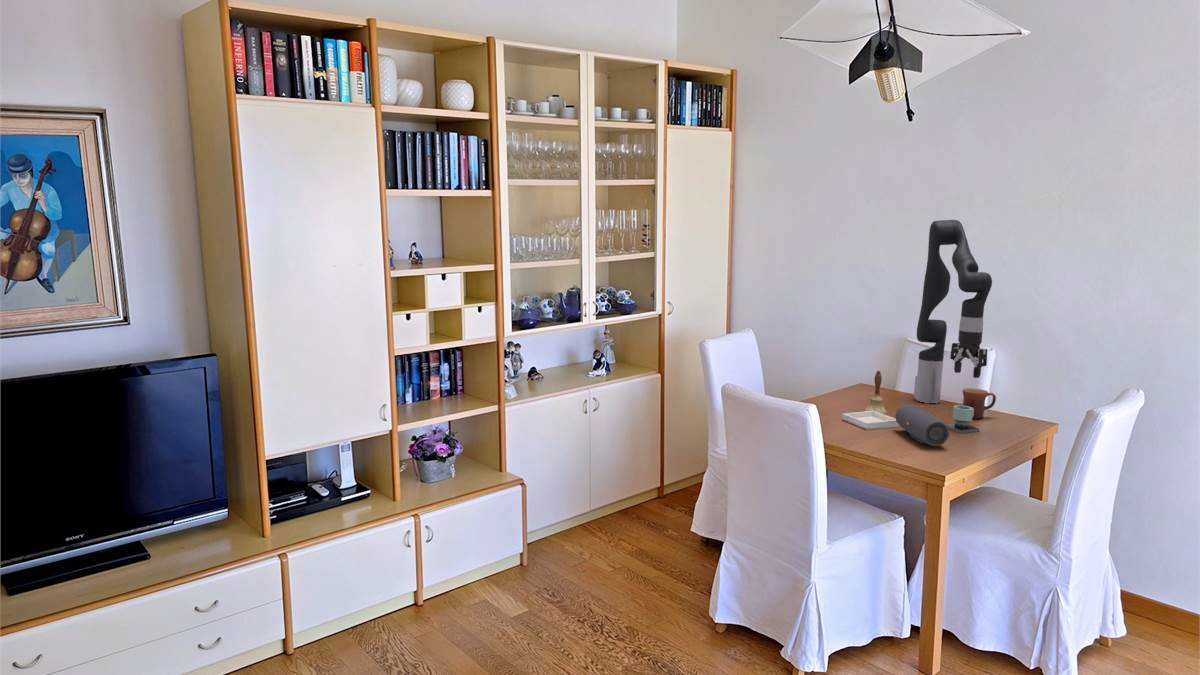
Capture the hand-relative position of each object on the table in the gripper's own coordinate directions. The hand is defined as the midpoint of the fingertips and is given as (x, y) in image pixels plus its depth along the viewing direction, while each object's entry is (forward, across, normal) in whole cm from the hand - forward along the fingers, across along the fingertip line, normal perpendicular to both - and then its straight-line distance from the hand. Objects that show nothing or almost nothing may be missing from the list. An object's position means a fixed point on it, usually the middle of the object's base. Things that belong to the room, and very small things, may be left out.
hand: (966, 375), depth 291 cm
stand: (+20, 0, 0) cm, 20 cm away
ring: (+16, 0, 0) cm, 16 cm away
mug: (+20, -11, +18) cm, 29 cm away
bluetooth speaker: (+20, +5, -23) cm, 31 cm away
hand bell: (+20, -30, -13) cm, 38 cm away
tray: (+20, -17, -26) cm, 37 cm away
